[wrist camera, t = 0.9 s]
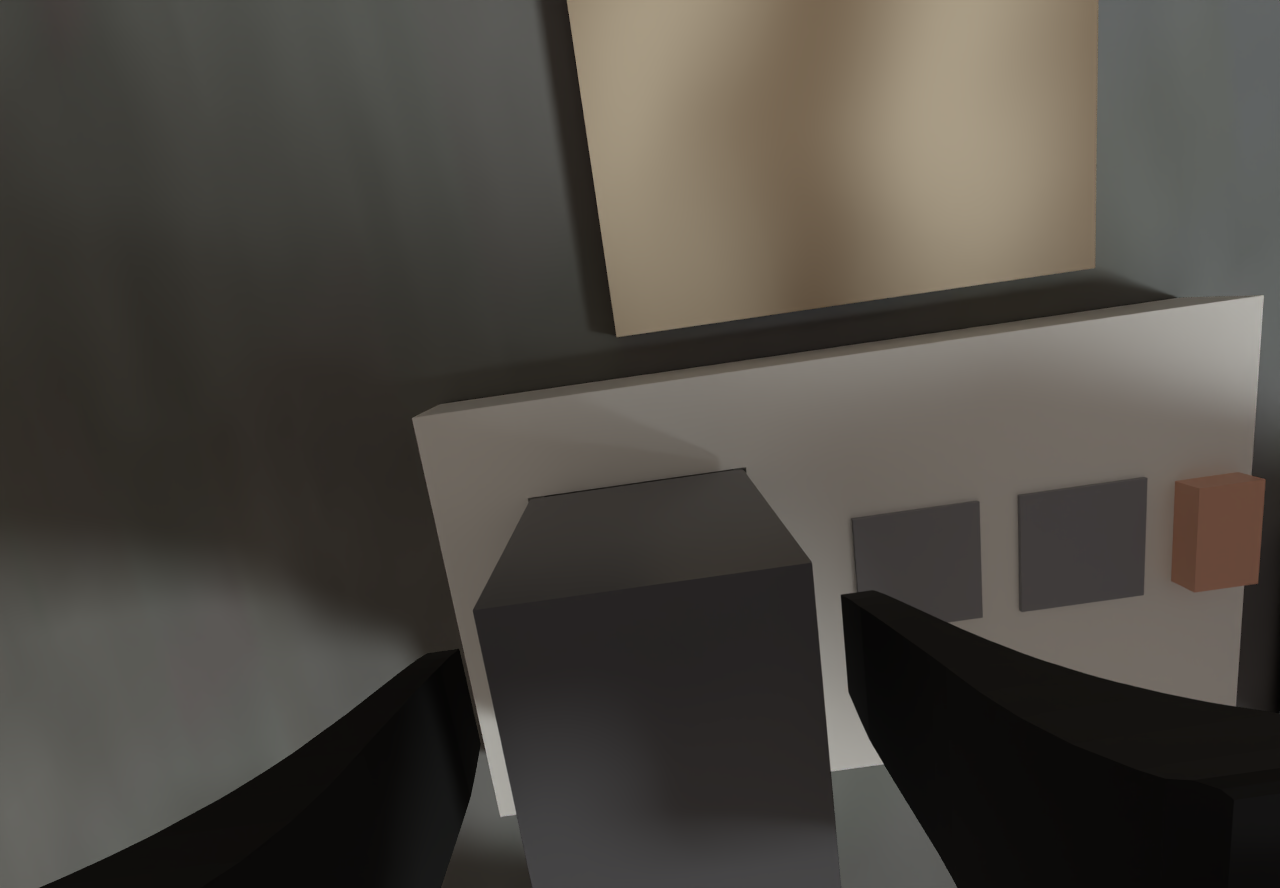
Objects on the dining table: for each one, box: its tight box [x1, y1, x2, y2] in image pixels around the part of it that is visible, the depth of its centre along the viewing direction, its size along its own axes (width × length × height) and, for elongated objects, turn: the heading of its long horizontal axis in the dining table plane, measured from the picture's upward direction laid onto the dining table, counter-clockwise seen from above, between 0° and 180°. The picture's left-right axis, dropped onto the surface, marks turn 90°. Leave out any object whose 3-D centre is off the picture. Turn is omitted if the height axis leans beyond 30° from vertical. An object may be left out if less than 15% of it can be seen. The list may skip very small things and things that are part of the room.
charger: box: [473, 469, 841, 888], centre depth 12 cm, size 4×6×8 cm
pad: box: [567, 0, 1098, 337], centre depth 13 cm, size 11×11×1 cm
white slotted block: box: [412, 295, 1266, 817], centre depth 15 cm, size 18×10×3 cm, turn 98°
